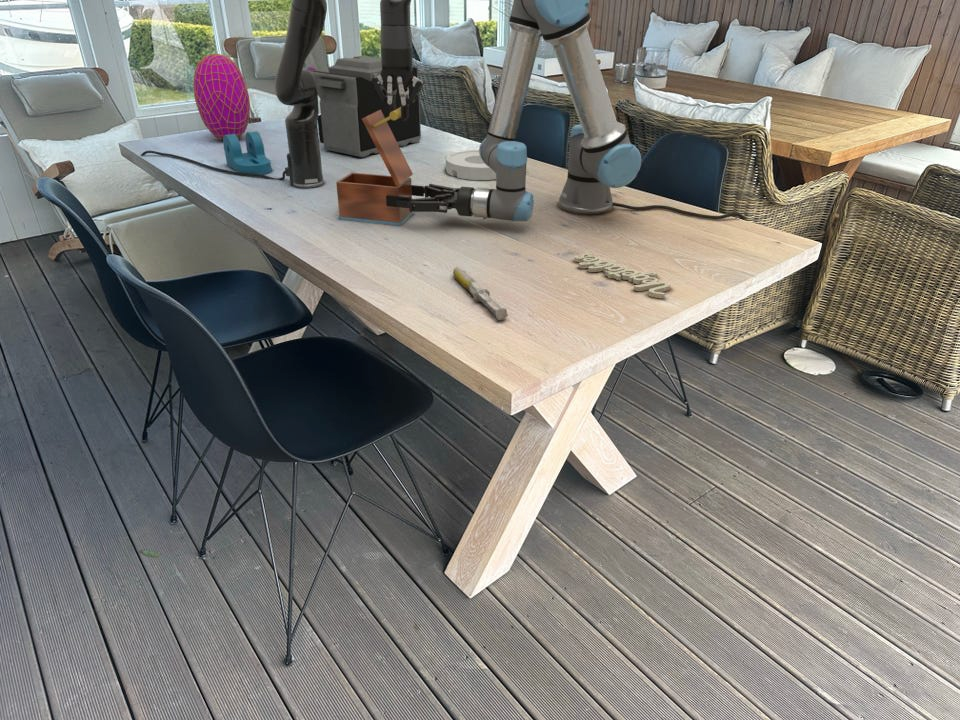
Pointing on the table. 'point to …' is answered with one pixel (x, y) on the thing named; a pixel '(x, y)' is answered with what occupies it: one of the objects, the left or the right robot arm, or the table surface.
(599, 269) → the decorative sign
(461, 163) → the ashtray
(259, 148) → the camera mount
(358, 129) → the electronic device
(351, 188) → the chest
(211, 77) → the decorative egg
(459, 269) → the syringe
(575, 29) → the right robot arm
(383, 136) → the lid
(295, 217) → the table surface
